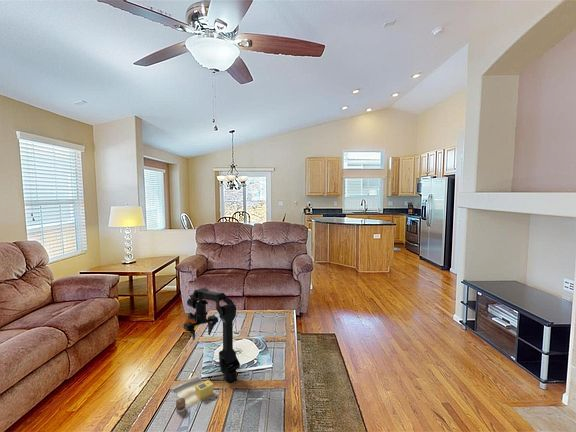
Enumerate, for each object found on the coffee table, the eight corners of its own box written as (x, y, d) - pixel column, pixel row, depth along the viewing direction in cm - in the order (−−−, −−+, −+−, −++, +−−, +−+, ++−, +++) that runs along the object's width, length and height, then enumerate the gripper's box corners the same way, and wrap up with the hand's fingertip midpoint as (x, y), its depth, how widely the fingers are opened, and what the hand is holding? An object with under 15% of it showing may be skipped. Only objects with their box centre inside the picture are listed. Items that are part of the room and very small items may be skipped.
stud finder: (213, 392, 150) (213, 383, 150) (200, 399, 145) (200, 389, 145) (208, 388, 153) (208, 379, 153) (195, 395, 148) (195, 385, 148)
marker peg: (186, 411, 138) (186, 400, 138) (178, 415, 136) (178, 404, 135) (182, 407, 141) (182, 396, 141) (174, 411, 138) (174, 400, 138)
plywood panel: (216, 394, 150) (216, 393, 150) (189, 409, 140) (189, 407, 140) (195, 376, 164) (195, 375, 164) (169, 388, 154) (169, 387, 154)
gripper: (209, 303, 189) (209, 328, 190) (179, 310, 176) (179, 337, 177) (218, 308, 180) (219, 334, 181) (187, 316, 168) (188, 344, 169)
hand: (201, 337), depth 178 cm, fingers open, 9 cm apart
